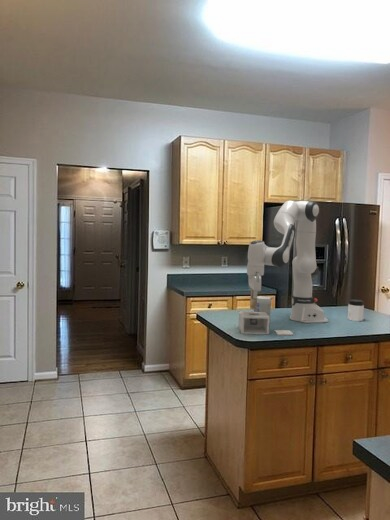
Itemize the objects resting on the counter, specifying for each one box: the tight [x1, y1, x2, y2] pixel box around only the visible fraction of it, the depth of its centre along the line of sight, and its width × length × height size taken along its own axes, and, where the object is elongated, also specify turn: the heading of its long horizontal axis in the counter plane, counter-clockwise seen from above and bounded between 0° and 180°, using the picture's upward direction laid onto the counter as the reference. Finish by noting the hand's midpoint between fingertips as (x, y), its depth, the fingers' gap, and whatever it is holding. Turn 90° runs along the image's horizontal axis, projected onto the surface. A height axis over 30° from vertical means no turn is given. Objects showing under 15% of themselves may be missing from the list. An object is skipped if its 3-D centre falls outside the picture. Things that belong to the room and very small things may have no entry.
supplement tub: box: [253, 295, 272, 324], centre depth 237 cm, size 10×10×15 cm
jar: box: [347, 299, 365, 322], centre depth 251 cm, size 9×8×12 cm
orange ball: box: [250, 318, 258, 325], centre depth 217 cm, size 4×4×4 cm
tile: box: [274, 329, 294, 337], centre depth 212 cm, size 8×8×1 cm
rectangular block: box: [249, 287, 257, 311], centre depth 216 cm, size 3×3×12 cm
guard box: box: [238, 310, 271, 335], centre depth 217 cm, size 14×14×9 cm
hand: (254, 297), depth 216 cm, fingers closed on rectangular block, 3 cm apart
